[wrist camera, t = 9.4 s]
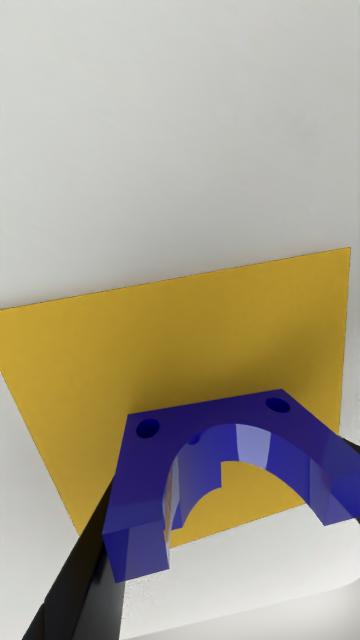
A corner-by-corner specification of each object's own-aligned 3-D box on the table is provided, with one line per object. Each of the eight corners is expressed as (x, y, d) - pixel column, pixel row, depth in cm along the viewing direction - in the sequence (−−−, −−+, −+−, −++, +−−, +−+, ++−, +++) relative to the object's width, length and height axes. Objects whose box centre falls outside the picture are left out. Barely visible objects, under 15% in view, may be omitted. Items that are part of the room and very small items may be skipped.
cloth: (342, 248, 8) (351, 246, 8) (329, 487, 12) (335, 494, 12) (-18, 312, 7) (-28, 314, 6) (98, 562, 11) (96, 573, 10)
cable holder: (137, 470, 9) (123, 614, 5) (127, 414, 8) (102, 534, 4) (278, 441, 10) (357, 545, 6) (282, 388, 9) (376, 468, 5)
